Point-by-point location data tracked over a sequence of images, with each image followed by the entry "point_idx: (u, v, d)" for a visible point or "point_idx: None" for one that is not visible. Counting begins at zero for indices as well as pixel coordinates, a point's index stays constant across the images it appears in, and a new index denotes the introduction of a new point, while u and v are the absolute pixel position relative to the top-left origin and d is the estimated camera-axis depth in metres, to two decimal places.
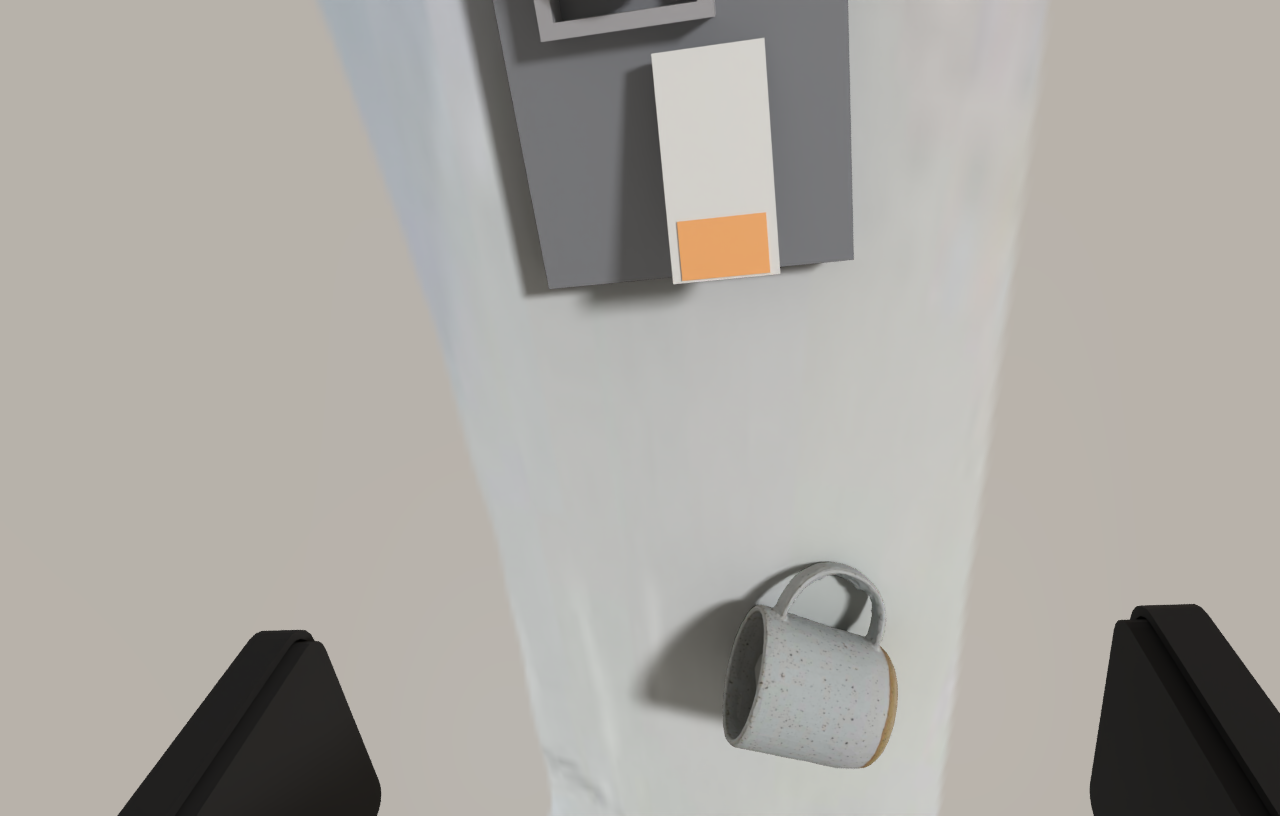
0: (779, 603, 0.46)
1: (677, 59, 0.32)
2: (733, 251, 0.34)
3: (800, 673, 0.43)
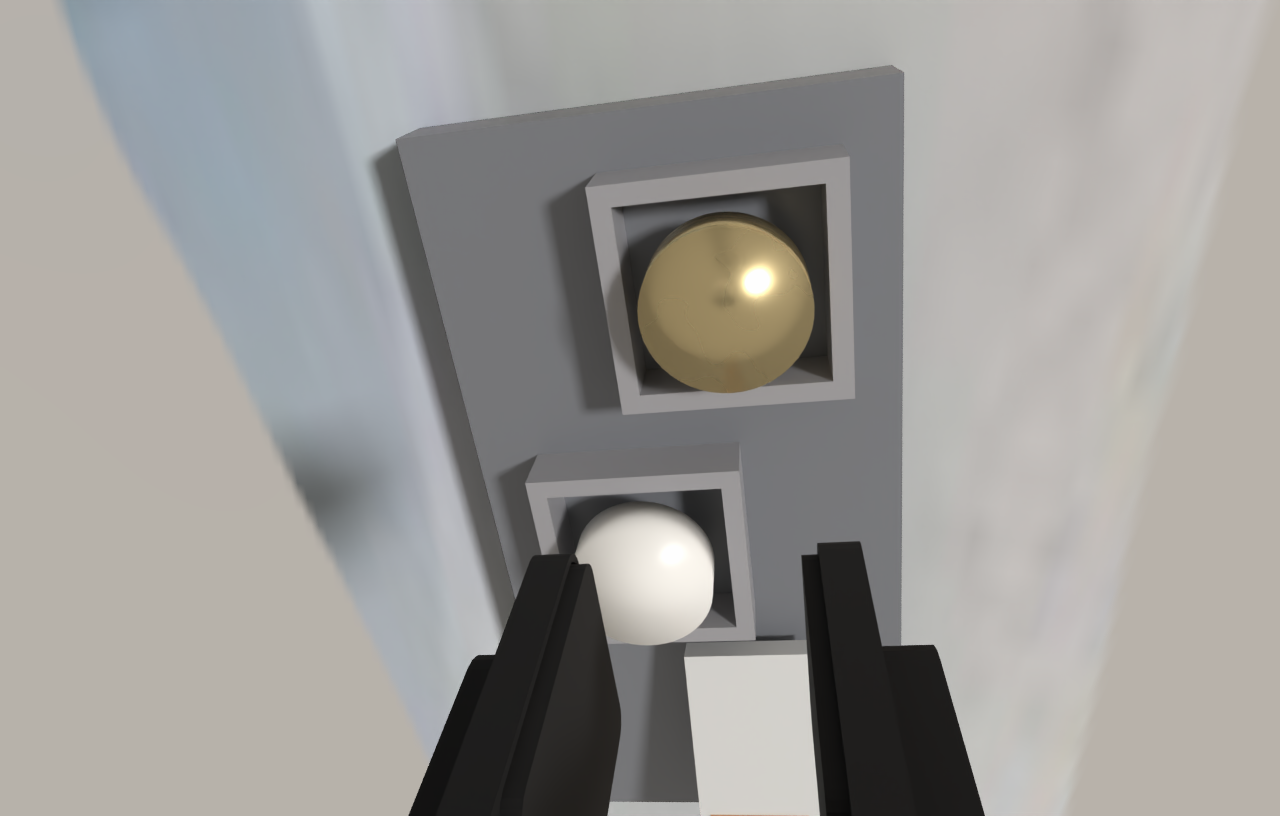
0: None
1: (713, 665, 0.29)
2: None
3: None
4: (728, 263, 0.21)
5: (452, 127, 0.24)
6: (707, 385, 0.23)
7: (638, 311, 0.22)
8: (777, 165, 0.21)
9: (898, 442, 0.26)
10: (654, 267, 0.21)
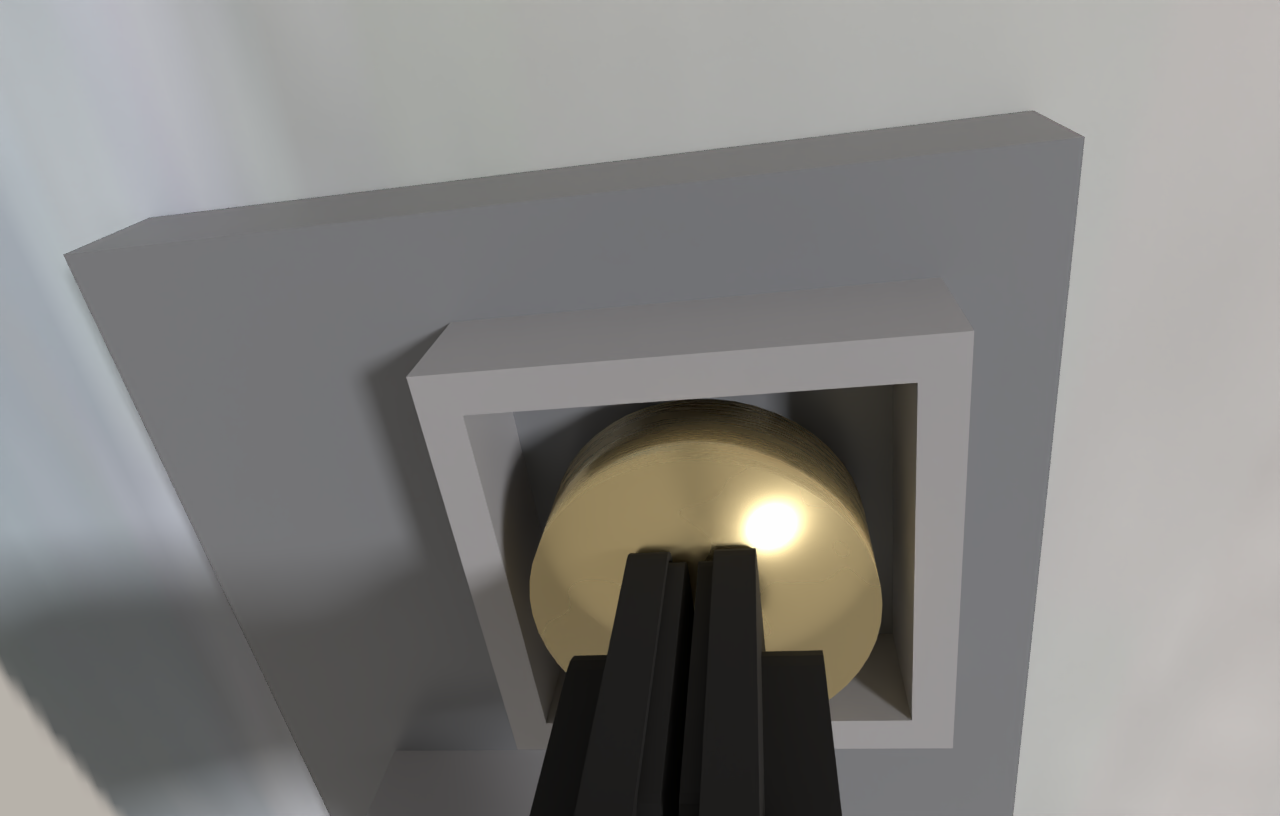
0: None
1: None
2: None
3: None
4: (708, 524, 0.10)
5: (188, 225, 0.13)
6: None
7: (532, 598, 0.11)
8: (812, 345, 0.10)
9: (1011, 763, 0.15)
10: (558, 526, 0.10)
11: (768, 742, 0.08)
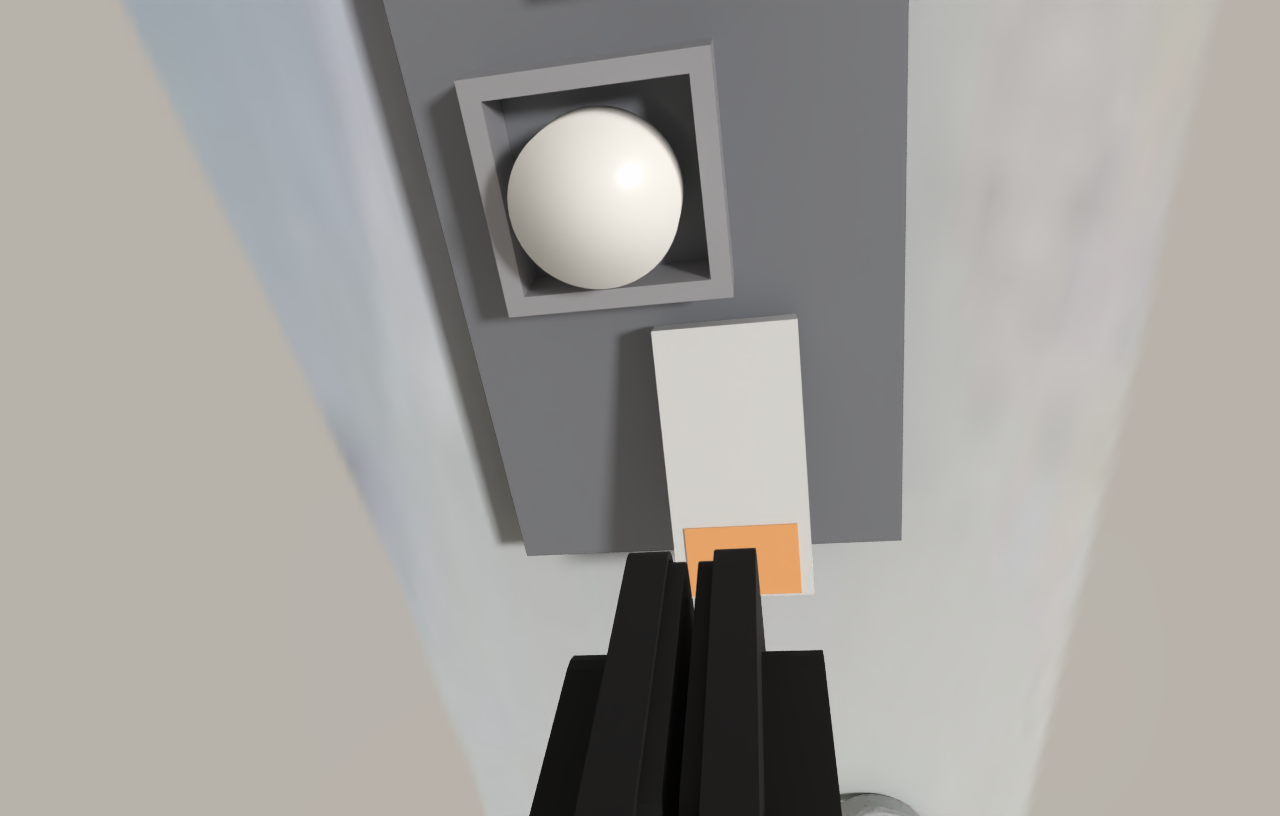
0: None
1: (684, 340, 0.25)
2: None
3: None
4: None
5: None
6: None
7: None
8: None
9: (903, 26, 0.22)
10: None
11: (768, 742, 0.08)
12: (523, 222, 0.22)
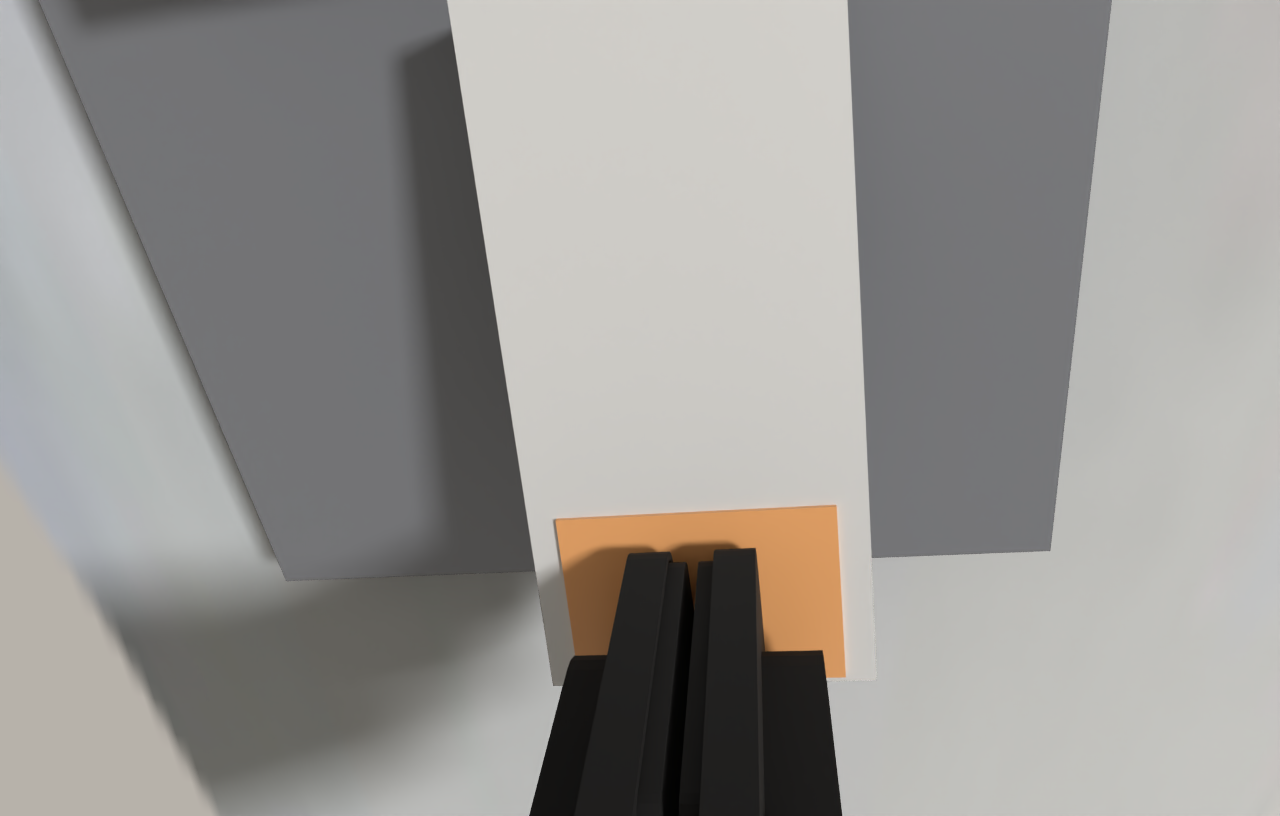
0: None
1: (534, 7, 0.09)
2: None
3: None
4: None
5: None
6: None
7: None
8: None
9: None
10: None
11: (768, 742, 0.08)
12: None
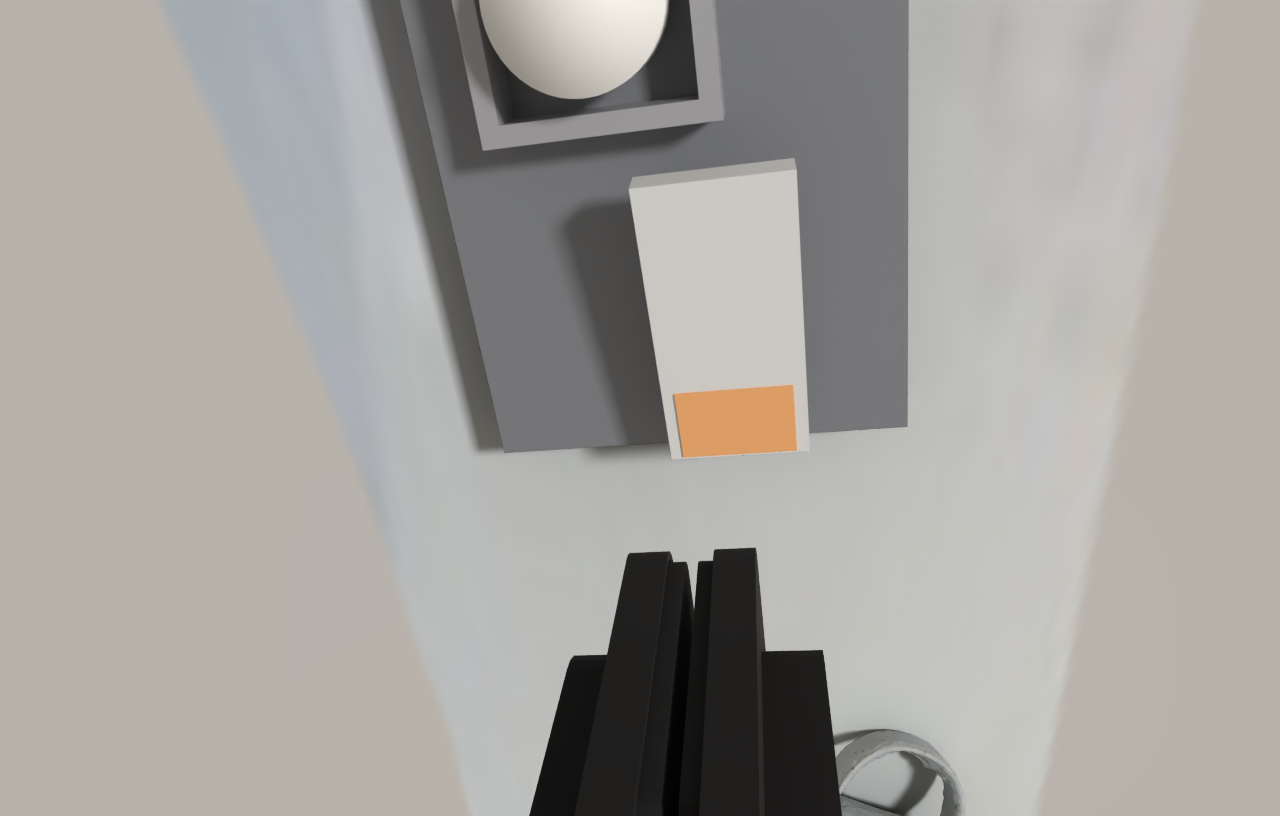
0: None
1: (667, 197, 0.22)
2: (748, 426, 0.26)
3: None
4: None
5: None
6: None
7: None
8: None
9: None
10: None
11: (768, 742, 0.08)
12: (495, 20, 0.21)
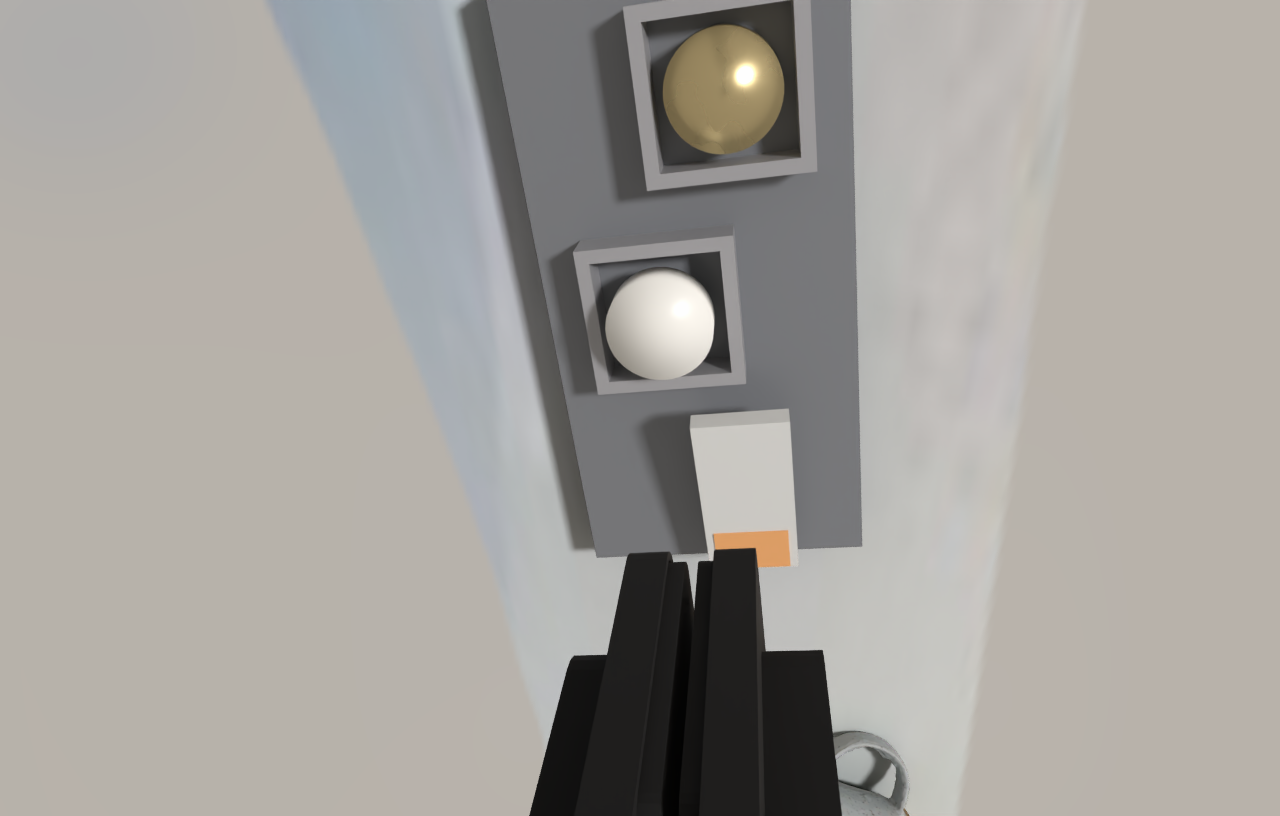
0: None
1: (713, 433, 0.37)
2: (760, 551, 0.41)
3: None
4: (725, 52, 0.31)
5: None
6: (710, 148, 0.32)
7: (663, 91, 0.32)
8: None
9: (852, 220, 0.35)
10: (674, 57, 0.31)
11: (768, 742, 0.08)
12: (614, 339, 0.35)
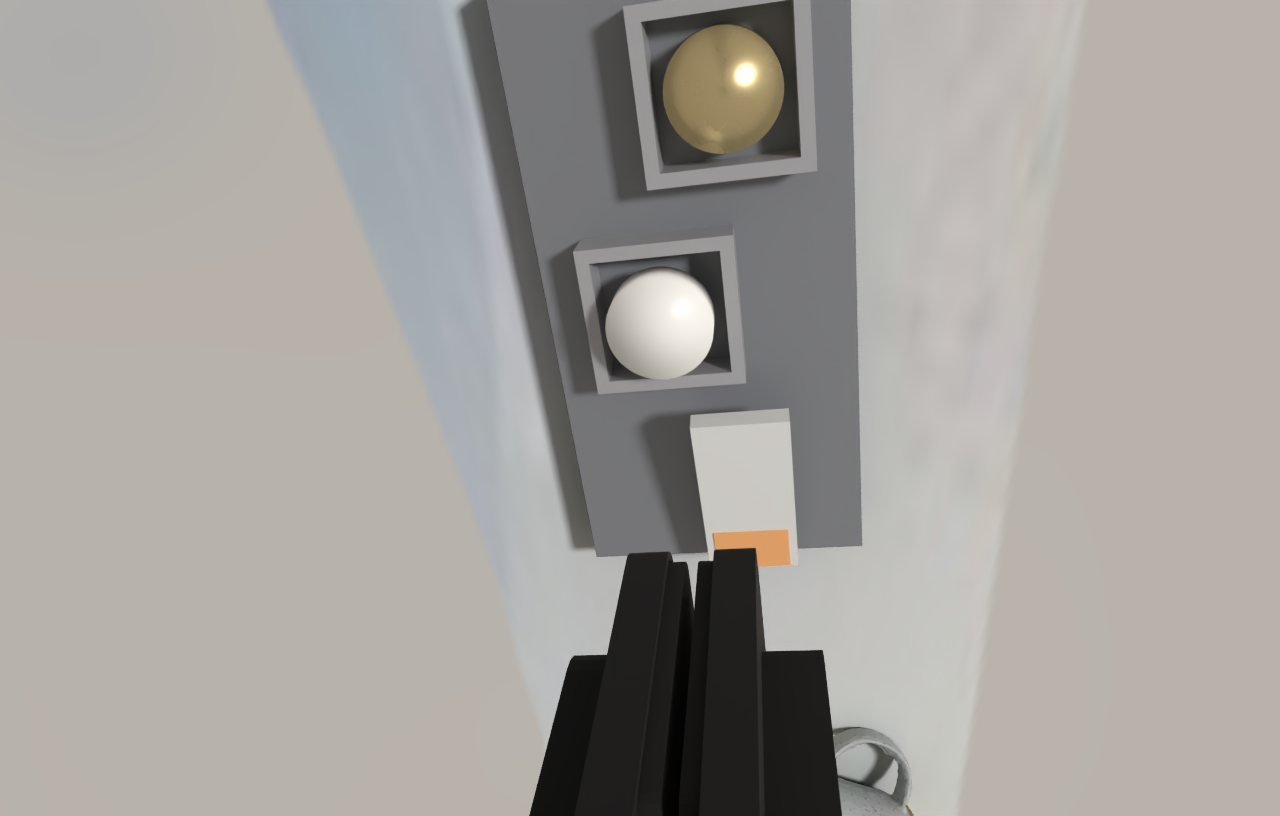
0: None
1: (713, 433, 0.37)
2: (760, 551, 0.41)
3: None
4: (725, 52, 0.31)
5: None
6: (710, 148, 0.32)
7: (663, 91, 0.32)
8: None
9: (852, 220, 0.35)
10: (674, 56, 0.31)
11: (768, 742, 0.08)
12: (614, 338, 0.35)
